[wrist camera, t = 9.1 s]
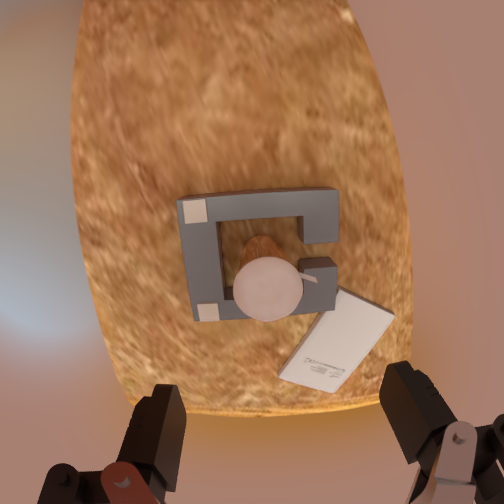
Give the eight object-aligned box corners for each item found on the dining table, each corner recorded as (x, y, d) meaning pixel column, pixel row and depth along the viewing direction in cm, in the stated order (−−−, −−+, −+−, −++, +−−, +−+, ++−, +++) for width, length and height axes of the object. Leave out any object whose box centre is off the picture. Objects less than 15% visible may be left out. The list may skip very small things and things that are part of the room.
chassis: (182, 196, 24) (175, 200, 22) (329, 186, 24) (339, 190, 22) (198, 308, 28) (193, 322, 25) (328, 298, 28) (335, 312, 25)
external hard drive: (390, 309, 29) (331, 386, 33) (335, 282, 28) (276, 369, 31) (397, 316, 28) (334, 394, 31) (340, 289, 26) (278, 379, 30)
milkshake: (302, 255, 26) (332, 309, 17) (251, 282, 27) (255, 347, 18) (279, 213, 25) (300, 248, 16) (226, 242, 26) (216, 292, 16)
